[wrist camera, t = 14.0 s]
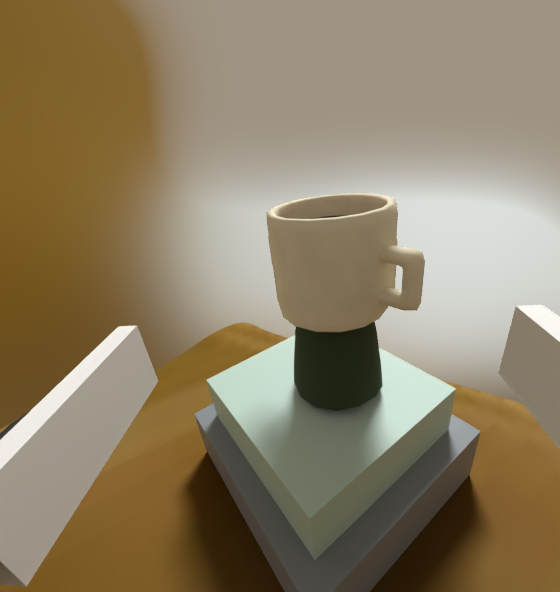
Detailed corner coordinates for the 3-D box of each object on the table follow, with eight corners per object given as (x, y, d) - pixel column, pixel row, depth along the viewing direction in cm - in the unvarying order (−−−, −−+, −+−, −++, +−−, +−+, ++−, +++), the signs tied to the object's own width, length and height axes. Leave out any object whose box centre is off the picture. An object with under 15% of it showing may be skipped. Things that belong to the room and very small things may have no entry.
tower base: (330, 374, 37) (326, 308, 33) (469, 474, 24) (490, 389, 20) (207, 451, 29) (182, 379, 25) (318, 652, 17) (305, 573, 13)
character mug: (434, 393, 21) (463, 194, 15) (376, 465, 17) (384, 232, 11) (314, 336, 28) (302, 190, 23) (254, 376, 24) (221, 212, 19)
